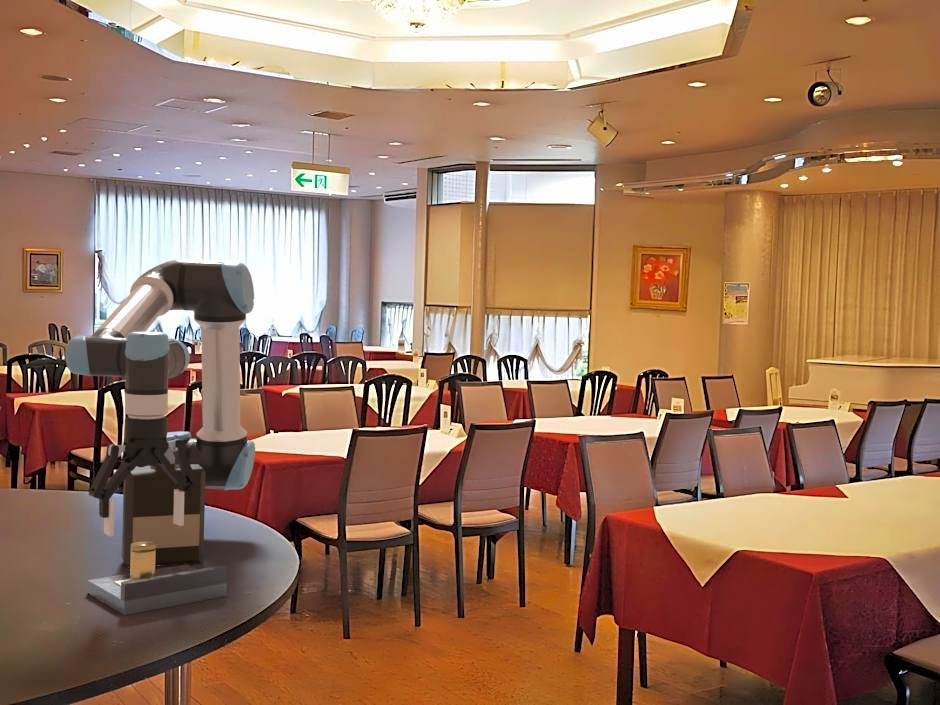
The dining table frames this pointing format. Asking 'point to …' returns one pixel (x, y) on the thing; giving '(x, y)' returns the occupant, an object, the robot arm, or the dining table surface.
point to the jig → (160, 588)
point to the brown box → (163, 515)
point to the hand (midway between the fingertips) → (144, 529)
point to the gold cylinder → (142, 560)
